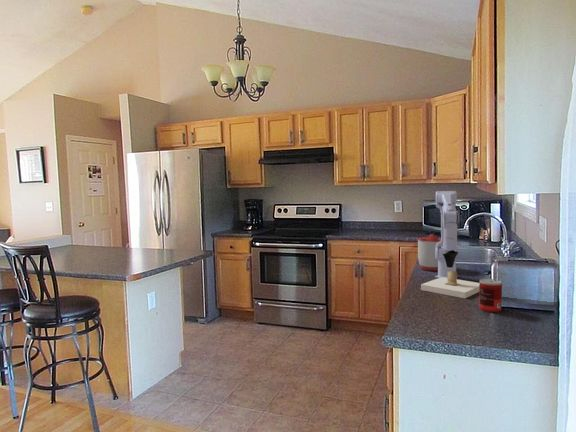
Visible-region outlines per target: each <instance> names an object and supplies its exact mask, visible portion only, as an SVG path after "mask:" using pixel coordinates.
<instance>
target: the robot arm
mask: <svg viewBox="0 0 576 432" xmlns="http://www.w3.org/2000/svg"><path fill="white" fill-rule="evenodd" d="M457 200H458V192H457V190H440V191H438V190H436V192H435V207H436V208H437V209H439V212H440V235H441V236H440V238H441V241H440V242H438V243H437V244H436V248H435V257H436V259H438V271H437V275H435V276H434V278H436V279H438V278H440V277H445V278H447V272H448V271H455V272H457V264H456V263H457V262H456V261H455V260H456V259H457V257H458V254H459V251H458V250H460V245H458V225H459V220H460V217H459V211H458V210H457V209H456V205H457V202H458V201H457ZM458 277H459V276H458V275H457V278H458Z"/></svg>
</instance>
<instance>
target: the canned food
mask: <svg viewBox="0 0 576 432" xmlns="http://www.w3.org/2000/svg"><path fill="white" fill-rule="evenodd" d="M493 279H494V278H482V279H479V282H478V283H479V292H478V294H479V295H478V296H479V297H478V308H479V310H480V311H482V310H483V311H482V312H485V311H486V312H485V313H493V312H495V313H500V312H501V311H502V305H503V304H502V302H503V299H502V298H503V297H502V295H503V291H502V290H503V282H502V281H501V280H499V281H495V280H496V279H495V280H493ZM499 311H500V312H499Z"/></svg>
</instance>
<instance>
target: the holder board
mask: <svg viewBox="0 0 576 432" xmlns="http://www.w3.org/2000/svg"><path fill="white" fill-rule="evenodd" d="M479 283H480V282H475V281H469V280H463V279H458V278H457V286H451V285H447V278H445V277H440V278H436V279H432V280H429V281H427V282H424V283H421V284H420V291H425V292H431V293H435V294H440V295H446V296H451V297H456V298H459V299H460V298H461V299H467V298H469V297H471V296H473V295H475V294H479Z"/></svg>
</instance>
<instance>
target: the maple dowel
mask: <svg viewBox="0 0 576 432" xmlns="http://www.w3.org/2000/svg"><path fill="white" fill-rule="evenodd" d="M457 276H458V272H457V271H456V272H455V271H448V272H447V285H451V286H457V279H458V277H457Z"/></svg>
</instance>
